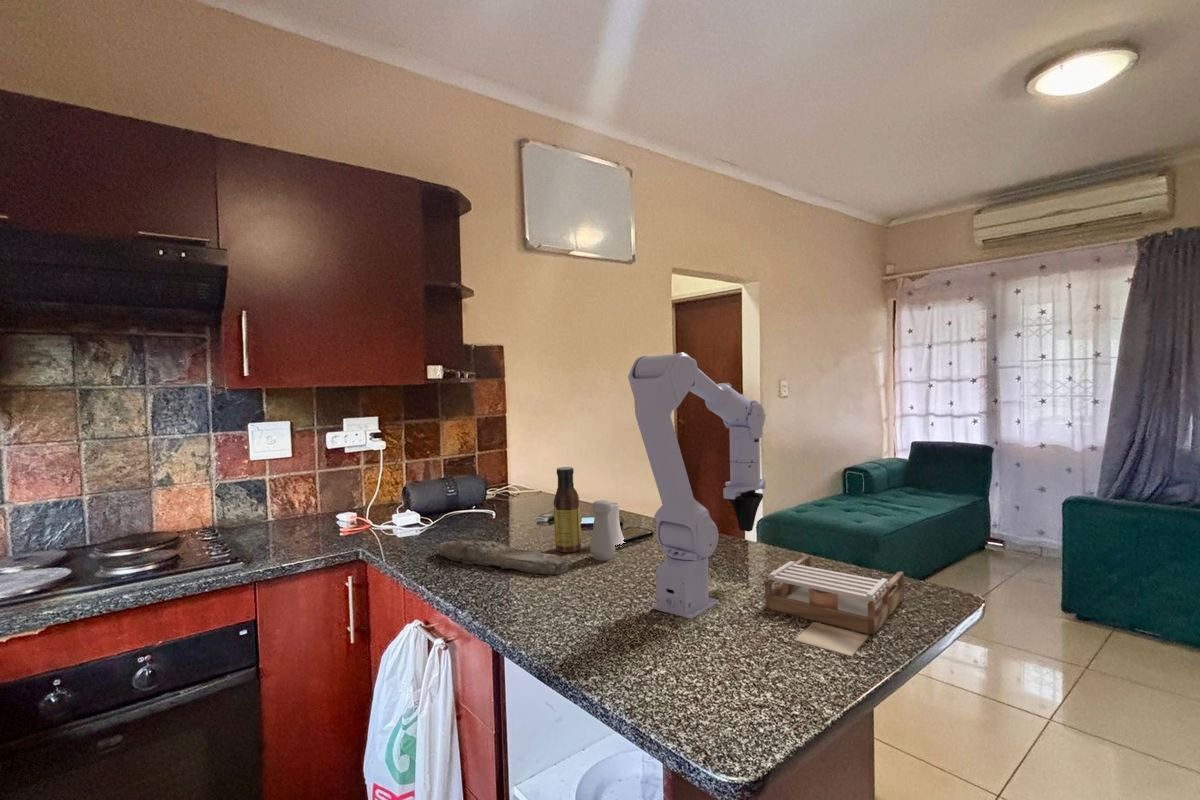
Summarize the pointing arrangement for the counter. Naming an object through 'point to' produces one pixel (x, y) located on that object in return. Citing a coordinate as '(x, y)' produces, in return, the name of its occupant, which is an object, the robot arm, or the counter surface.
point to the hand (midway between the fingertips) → (746, 530)
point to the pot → (823, 598)
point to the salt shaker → (602, 532)
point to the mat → (832, 639)
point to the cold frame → (850, 609)
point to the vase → (616, 524)
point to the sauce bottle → (567, 513)
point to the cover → (830, 581)
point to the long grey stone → (502, 557)
